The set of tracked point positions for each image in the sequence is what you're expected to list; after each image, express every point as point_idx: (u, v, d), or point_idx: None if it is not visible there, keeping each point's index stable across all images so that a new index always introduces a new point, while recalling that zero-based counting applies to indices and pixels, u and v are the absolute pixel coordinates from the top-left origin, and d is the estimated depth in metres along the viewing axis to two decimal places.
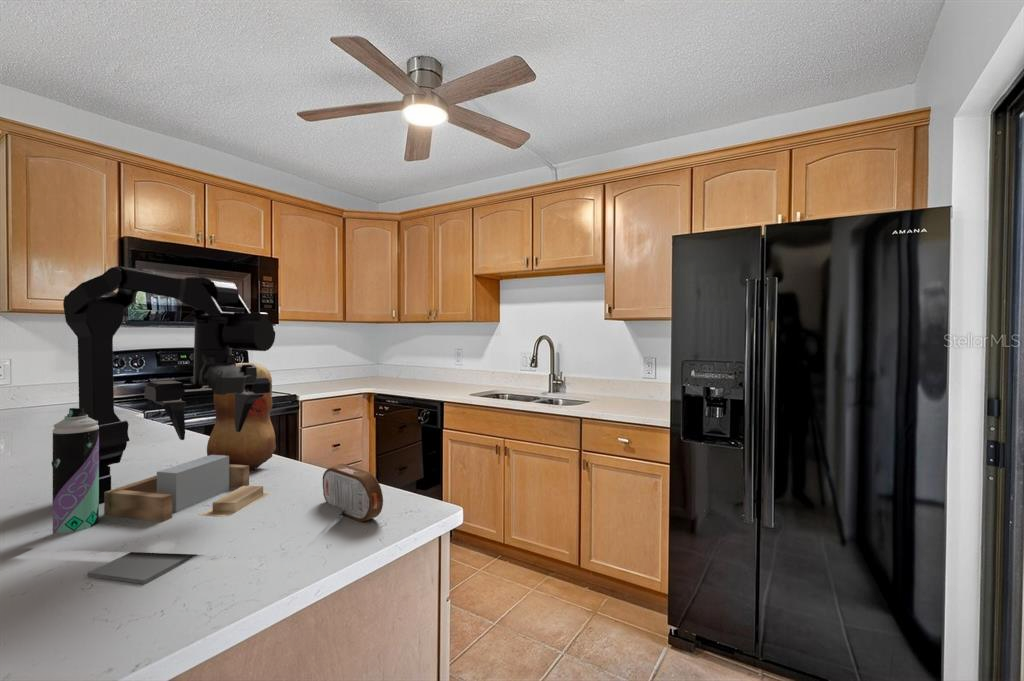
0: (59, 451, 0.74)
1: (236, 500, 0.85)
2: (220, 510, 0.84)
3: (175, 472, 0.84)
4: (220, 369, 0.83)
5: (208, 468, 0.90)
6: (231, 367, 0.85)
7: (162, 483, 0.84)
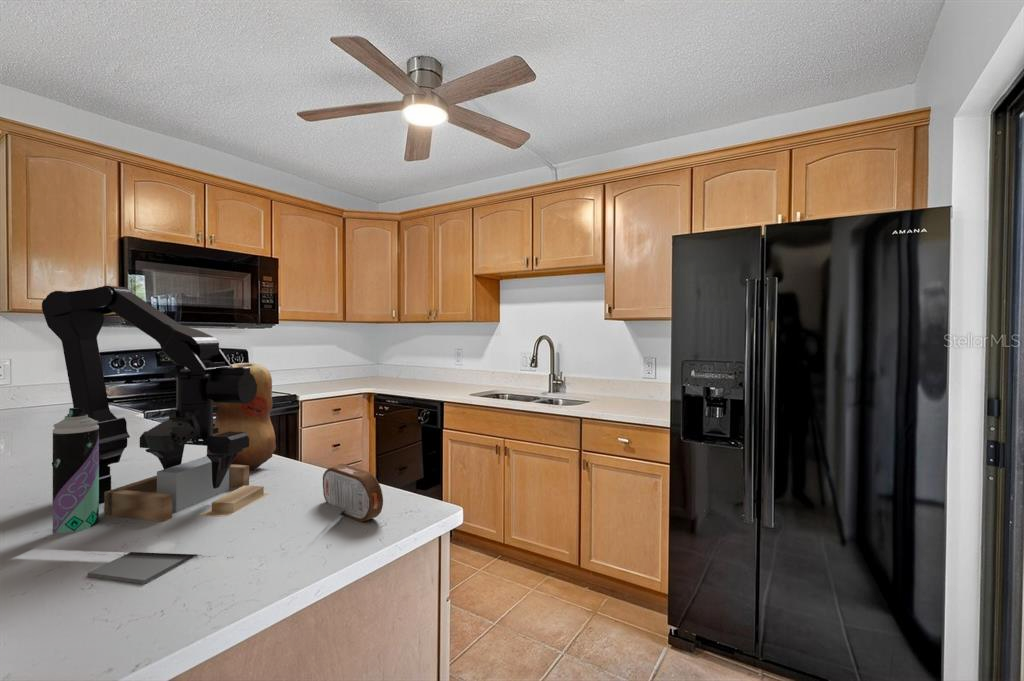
0: (59, 451, 0.74)
1: (235, 500, 0.85)
2: (219, 510, 0.84)
3: (175, 472, 0.84)
4: (165, 424, 0.85)
5: (208, 468, 0.90)
6: (178, 423, 0.85)
7: (162, 483, 0.84)
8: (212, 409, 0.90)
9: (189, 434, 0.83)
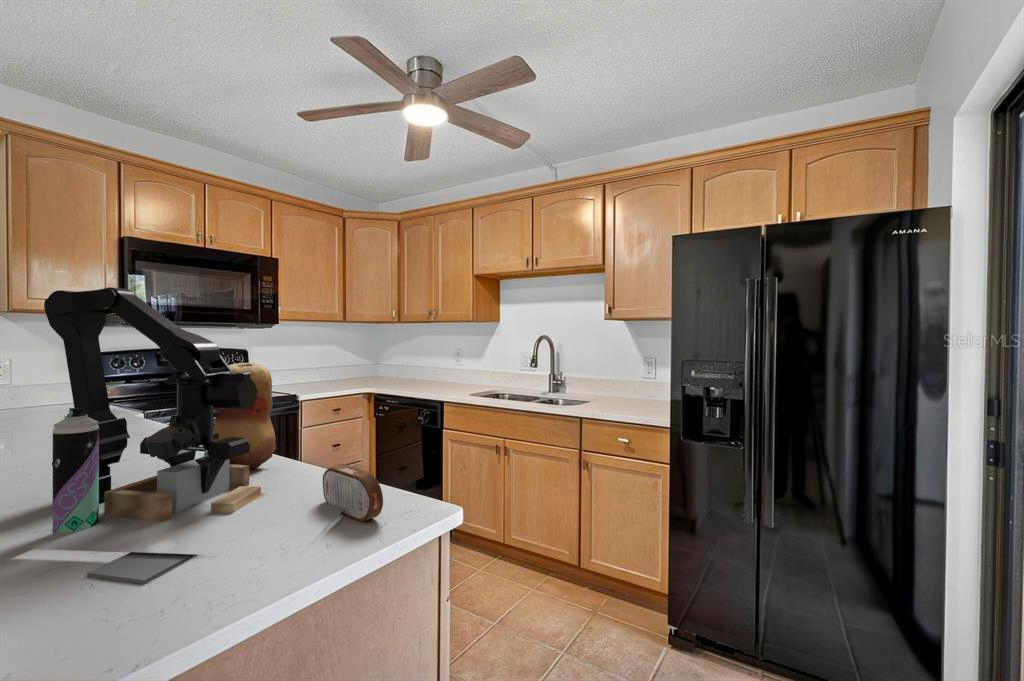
0: (59, 451, 0.74)
1: (235, 501, 0.85)
2: (218, 511, 0.84)
3: (175, 471, 0.84)
4: (166, 431, 0.85)
5: None
6: (178, 429, 0.85)
7: (162, 482, 0.84)
8: (212, 415, 0.90)
9: (190, 440, 0.83)
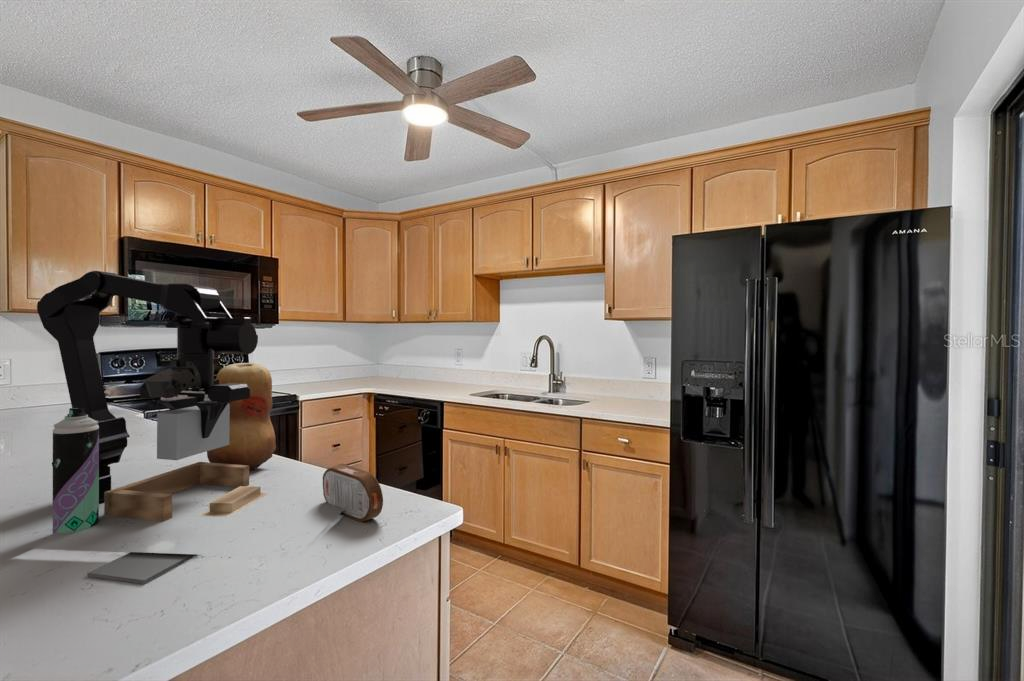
0: (59, 451, 0.74)
1: (233, 501, 0.85)
2: (217, 511, 0.84)
3: (175, 413, 0.84)
4: (166, 372, 0.84)
5: None
6: (179, 371, 0.84)
7: (162, 424, 0.84)
8: (213, 360, 0.90)
9: (190, 381, 0.83)
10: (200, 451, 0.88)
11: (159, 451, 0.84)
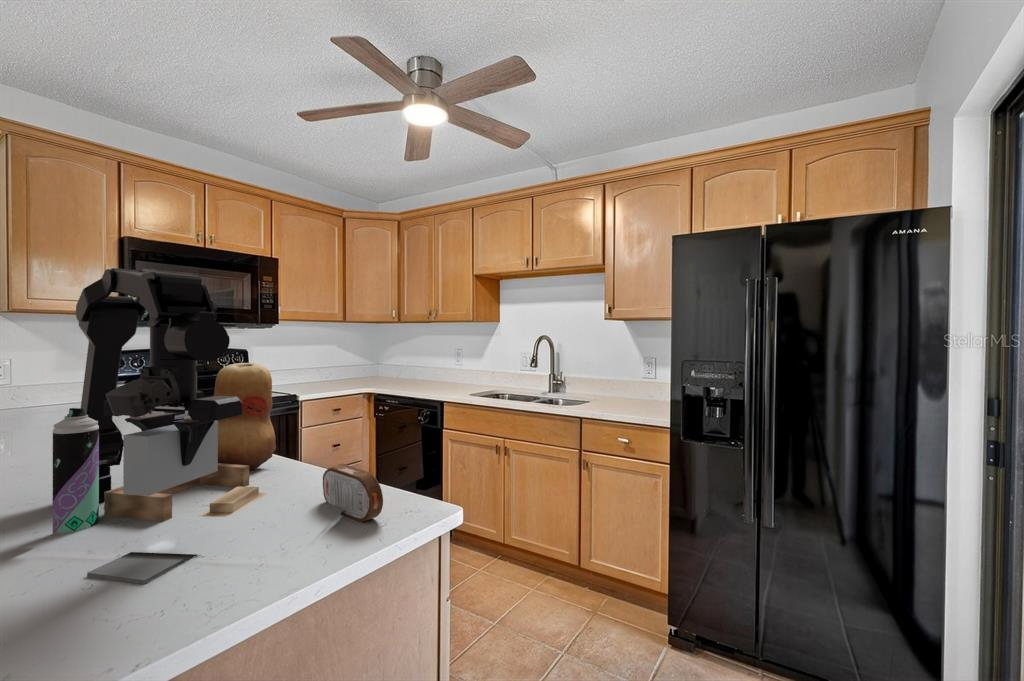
0: (59, 451, 0.74)
1: (234, 501, 0.85)
2: (217, 511, 0.84)
3: (147, 436, 0.66)
4: (134, 384, 0.66)
5: None
6: (151, 382, 0.66)
7: (130, 450, 0.66)
8: (195, 368, 0.72)
9: (164, 395, 0.65)
10: (180, 482, 0.70)
11: (126, 484, 0.66)
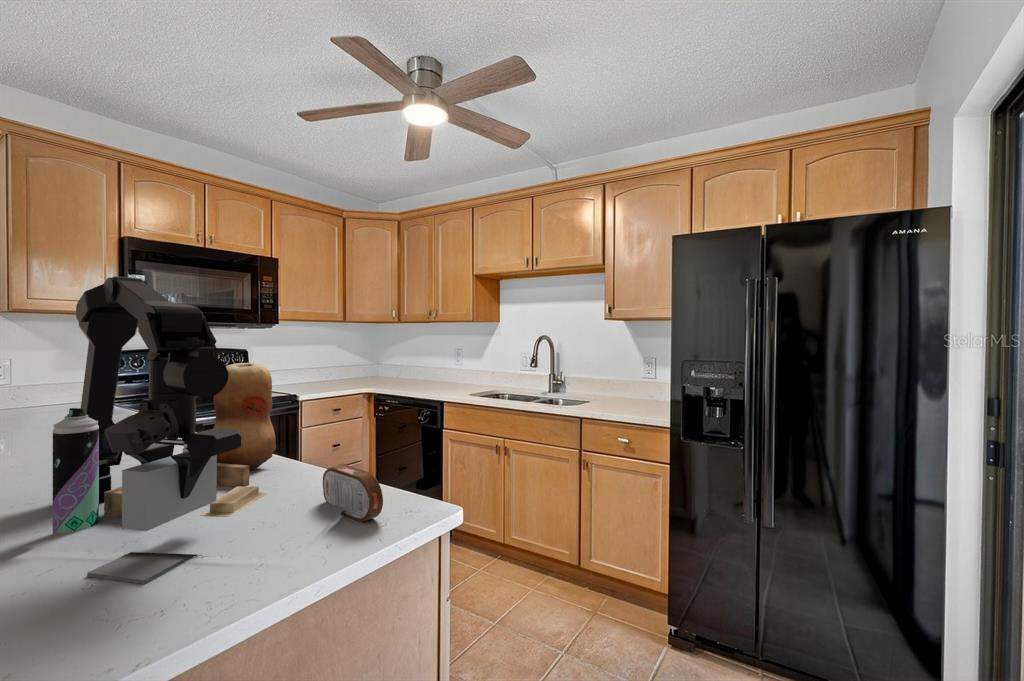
0: (59, 451, 0.74)
1: (234, 501, 0.85)
2: (218, 511, 0.84)
3: (145, 471, 0.66)
4: (133, 419, 0.66)
5: None
6: None
7: (129, 485, 0.66)
8: (195, 400, 0.72)
9: (163, 431, 0.65)
10: (178, 515, 0.70)
11: (125, 519, 0.66)
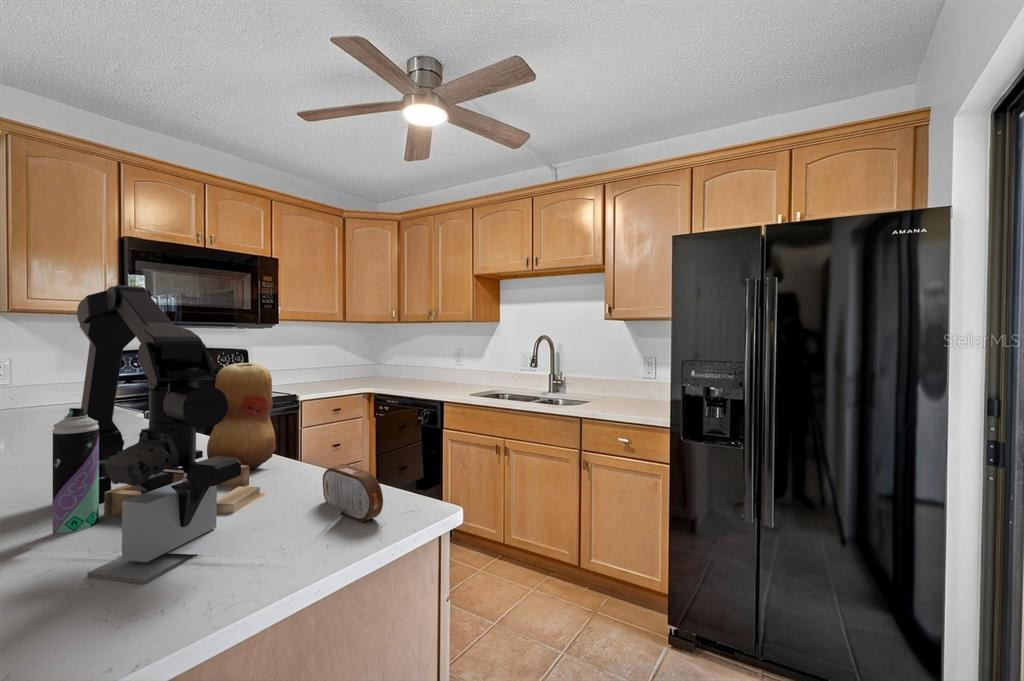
0: (59, 451, 0.74)
1: (234, 501, 0.85)
2: (218, 511, 0.84)
3: (145, 502, 0.66)
4: (133, 449, 0.66)
5: None
6: (150, 448, 0.66)
7: (129, 516, 0.66)
8: (194, 428, 0.72)
9: (163, 462, 0.65)
10: (178, 544, 0.70)
11: (125, 550, 0.66)
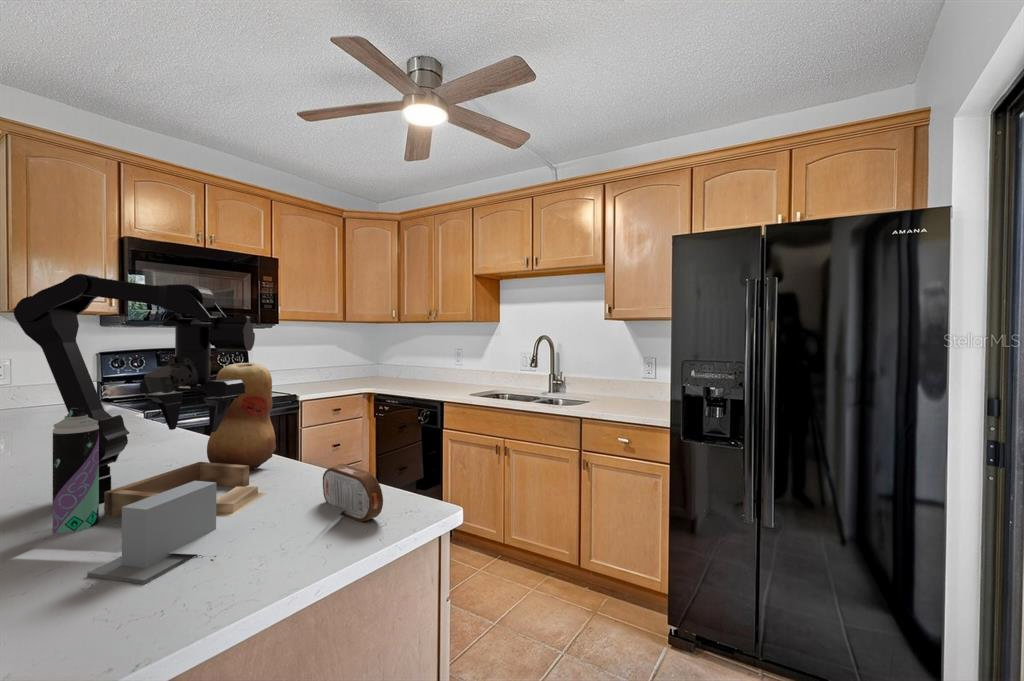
0: (59, 451, 0.74)
1: (234, 501, 0.85)
2: (218, 511, 0.84)
3: (145, 508, 0.66)
4: (164, 369, 0.89)
5: (188, 499, 0.72)
6: (177, 368, 0.89)
7: (129, 522, 0.66)
8: (209, 357, 0.94)
9: (187, 377, 0.87)
10: None
11: (124, 556, 0.66)
